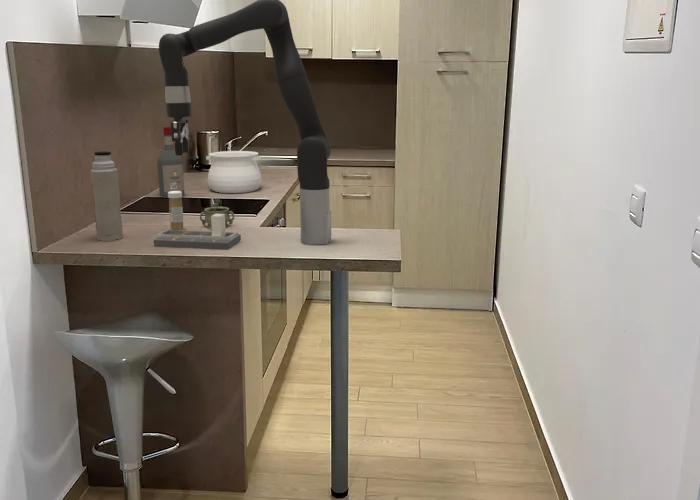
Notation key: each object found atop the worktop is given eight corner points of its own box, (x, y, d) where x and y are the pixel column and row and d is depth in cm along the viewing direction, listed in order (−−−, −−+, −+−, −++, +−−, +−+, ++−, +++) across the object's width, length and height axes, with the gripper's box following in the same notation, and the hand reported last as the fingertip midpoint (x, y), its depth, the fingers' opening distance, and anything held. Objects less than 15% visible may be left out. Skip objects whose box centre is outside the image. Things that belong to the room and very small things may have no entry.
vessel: (235, 223, 245) (234, 206, 243) (234, 228, 236) (233, 210, 235) (201, 224, 244) (200, 206, 242) (198, 229, 235) (197, 211, 234)
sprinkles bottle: (171, 229, 235) (168, 190, 232) (185, 229, 236) (182, 190, 232) (169, 232, 231) (166, 192, 228) (183, 232, 231) (180, 192, 228)
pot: (199, 194, 306) (197, 156, 302) (216, 185, 329) (214, 150, 325) (255, 195, 303) (254, 156, 299) (268, 186, 326) (267, 150, 322)
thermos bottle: (93, 241, 219) (84, 153, 212) (102, 235, 227) (94, 150, 220) (117, 241, 219) (110, 153, 212) (126, 235, 227) (119, 150, 220)
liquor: (186, 197, 298) (182, 127, 290) (166, 199, 292) (161, 128, 285) (177, 194, 305) (173, 126, 297) (158, 196, 299) (153, 127, 292)
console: (240, 240, 219) (240, 230, 219) (228, 249, 208) (227, 239, 207) (170, 237, 224) (169, 227, 223) (153, 246, 212) (153, 236, 211)
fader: (226, 235, 216) (225, 213, 214) (220, 239, 211) (219, 216, 210) (217, 235, 217) (216, 213, 215) (211, 238, 212) (210, 216, 210)
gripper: (185, 101, 206) (189, 156, 209) (194, 100, 219) (198, 151, 223) (160, 102, 205) (164, 156, 209) (171, 100, 219) (175, 151, 223)
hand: (182, 153), depth 216 cm, fingers open, 8 cm apart
